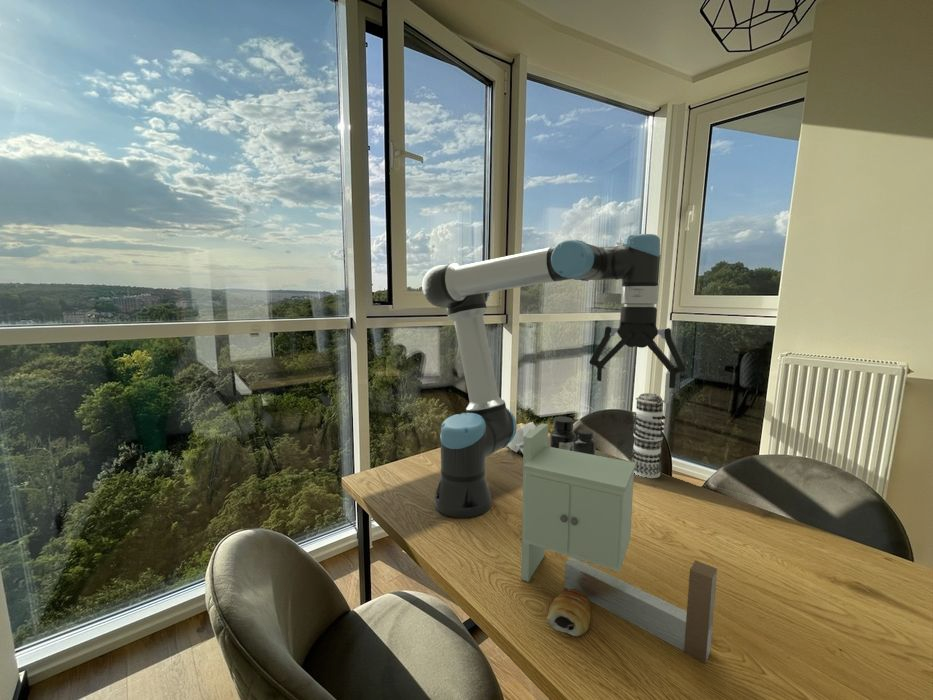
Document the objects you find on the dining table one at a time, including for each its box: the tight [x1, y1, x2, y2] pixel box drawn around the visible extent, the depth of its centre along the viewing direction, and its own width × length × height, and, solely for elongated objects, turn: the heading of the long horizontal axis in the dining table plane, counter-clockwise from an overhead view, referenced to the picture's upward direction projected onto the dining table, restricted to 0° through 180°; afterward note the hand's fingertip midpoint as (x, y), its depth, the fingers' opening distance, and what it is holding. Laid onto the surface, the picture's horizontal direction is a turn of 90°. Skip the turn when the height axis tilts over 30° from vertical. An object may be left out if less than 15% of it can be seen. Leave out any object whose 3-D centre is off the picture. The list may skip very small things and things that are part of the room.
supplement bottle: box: [573, 429, 597, 455], centre depth 133 cm, size 7×7×12 cm
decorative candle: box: [631, 392, 666, 479], centre depth 128 cm, size 9×9×25 cm
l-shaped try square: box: [564, 557, 718, 665], centre depth 70 cm, size 24×3×14 cm, turn 47°
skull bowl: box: [506, 421, 537, 454], centre depth 147 cm, size 10×14×12 cm
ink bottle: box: [549, 416, 577, 451], centre depth 146 cm, size 10×9×12 cm
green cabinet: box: [520, 422, 636, 583], centre depth 76 cm, size 19×14×29 cm
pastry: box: [546, 589, 592, 637], centre depth 71 cm, size 9×7×4 cm
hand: (633, 398), depth 95 cm, fingers open, 13 cm apart
